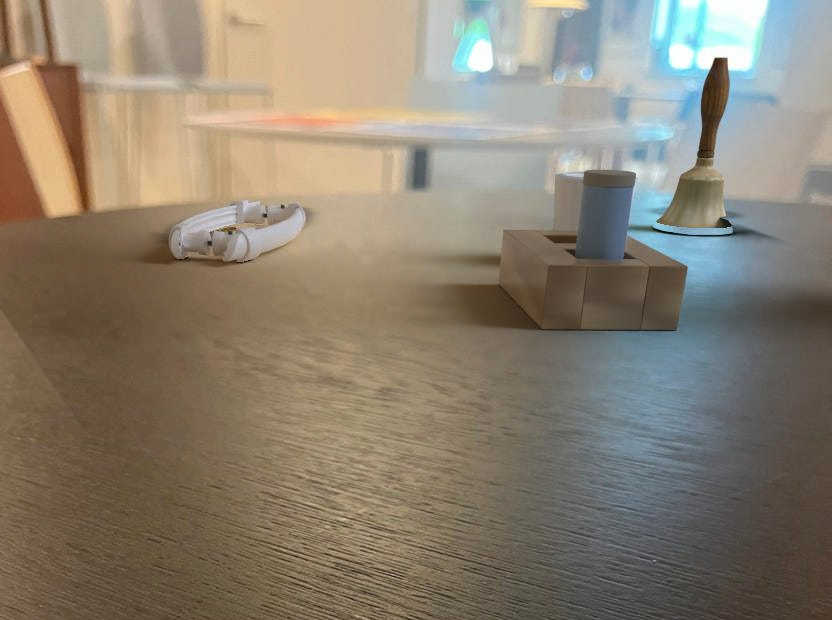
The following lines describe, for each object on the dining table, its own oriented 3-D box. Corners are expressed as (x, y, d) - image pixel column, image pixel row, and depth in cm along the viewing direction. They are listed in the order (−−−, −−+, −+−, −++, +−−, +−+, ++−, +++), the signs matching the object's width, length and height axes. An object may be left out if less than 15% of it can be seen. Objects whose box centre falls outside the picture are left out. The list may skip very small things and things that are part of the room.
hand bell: (731, 238, 103) (765, 57, 96) (647, 232, 106) (674, 55, 98) (735, 228, 110) (768, 58, 102) (657, 223, 113) (682, 57, 105)
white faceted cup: (575, 271, 85) (586, 180, 81) (530, 258, 90) (538, 172, 87) (641, 267, 87) (655, 178, 84) (594, 254, 93) (604, 170, 89)
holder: (611, 285, 80) (619, 230, 78) (677, 330, 66) (688, 266, 65) (498, 284, 79) (503, 229, 77) (541, 329, 66) (548, 264, 64)
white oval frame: (323, 228, 105) (260, 268, 84) (230, 224, 106) (145, 262, 85) (323, 200, 104) (259, 232, 82) (229, 196, 105) (143, 227, 84)
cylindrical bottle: (608, 310, 72) (627, 169, 67) (621, 320, 69) (643, 174, 64) (562, 309, 72) (578, 169, 67) (573, 320, 69) (591, 173, 64)
